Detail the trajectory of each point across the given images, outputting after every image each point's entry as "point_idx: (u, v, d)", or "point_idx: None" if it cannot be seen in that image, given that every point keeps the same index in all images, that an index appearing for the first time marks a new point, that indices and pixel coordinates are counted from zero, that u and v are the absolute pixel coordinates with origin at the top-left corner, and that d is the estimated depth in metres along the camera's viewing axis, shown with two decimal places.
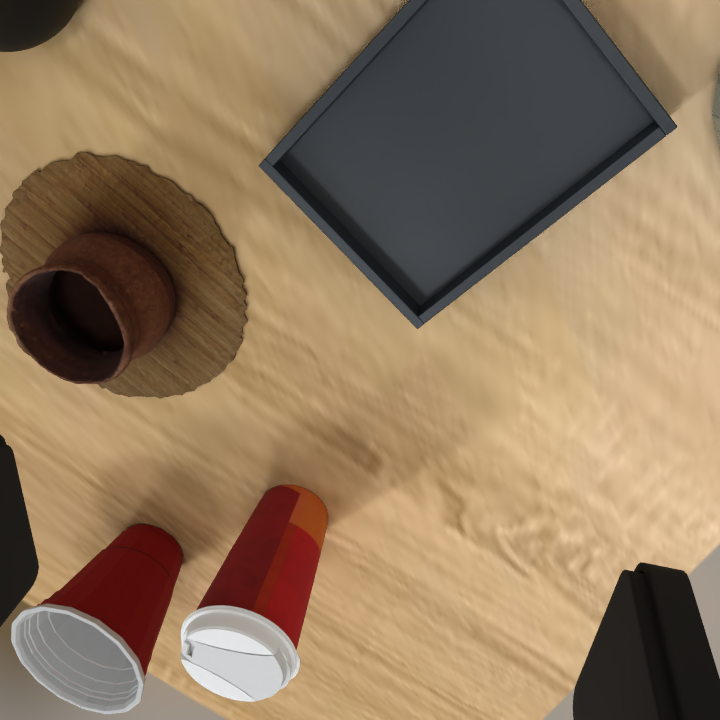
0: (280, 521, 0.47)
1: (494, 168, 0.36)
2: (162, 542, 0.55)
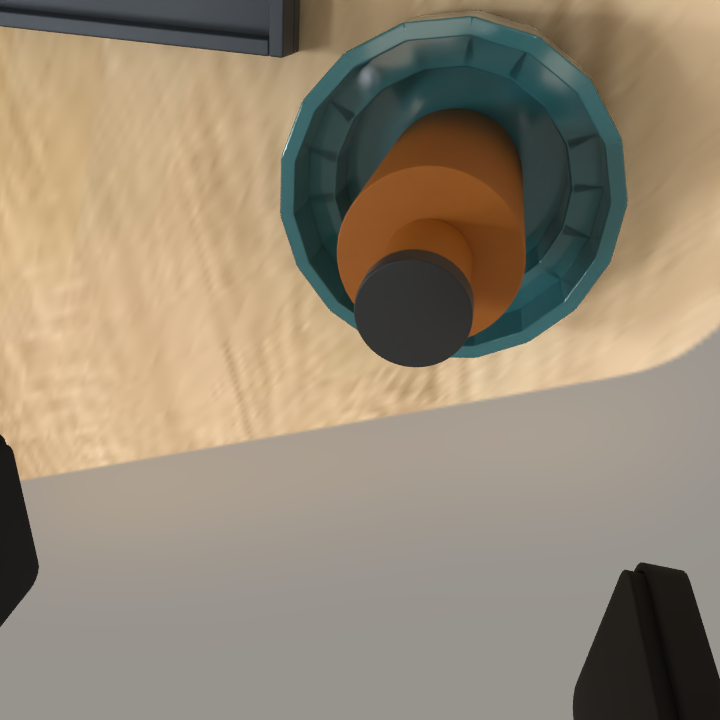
0: None
1: None
2: None
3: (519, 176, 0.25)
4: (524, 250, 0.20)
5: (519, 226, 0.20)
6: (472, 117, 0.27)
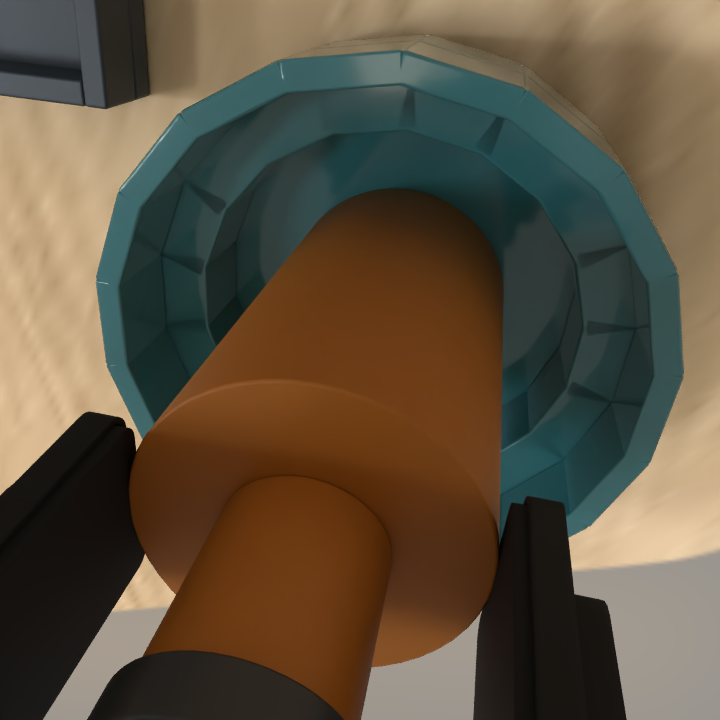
0: None
1: None
2: None
3: (495, 320, 0.15)
4: (496, 543, 0.10)
5: (484, 501, 0.09)
6: (419, 209, 0.16)
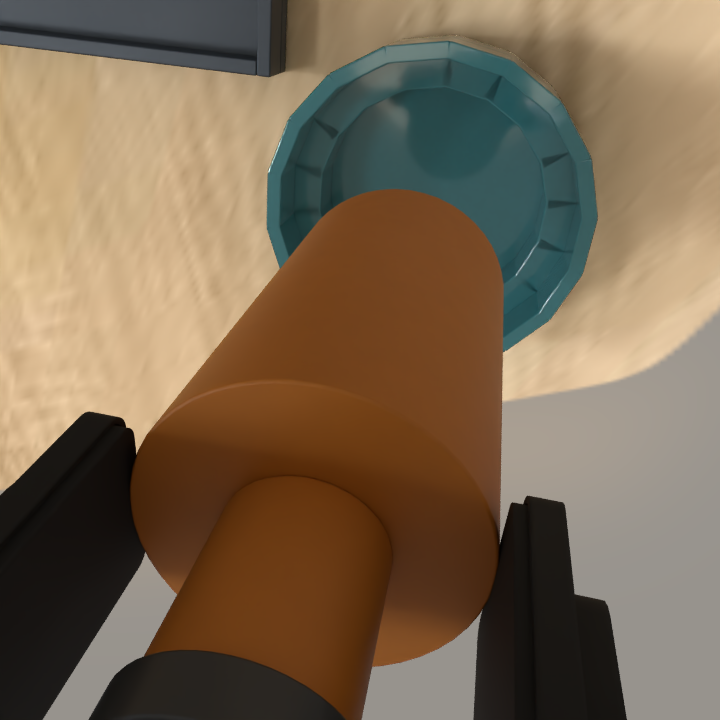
0: None
1: None
2: None
3: (495, 320, 0.15)
4: (496, 543, 0.10)
5: (485, 501, 0.09)
6: (420, 210, 0.16)
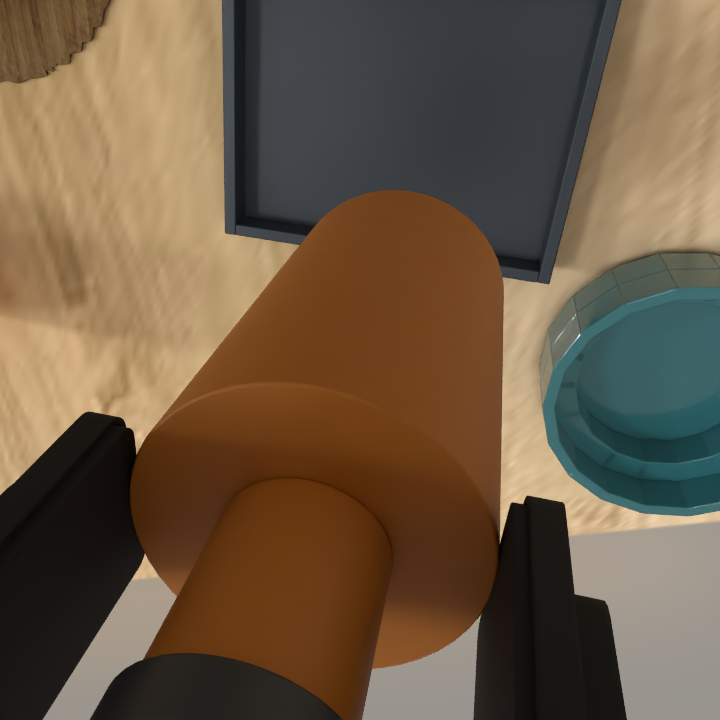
0: None
1: (408, 174, 0.34)
2: None
3: (495, 321, 0.15)
4: (496, 545, 0.10)
5: (485, 503, 0.09)
6: (420, 211, 0.16)
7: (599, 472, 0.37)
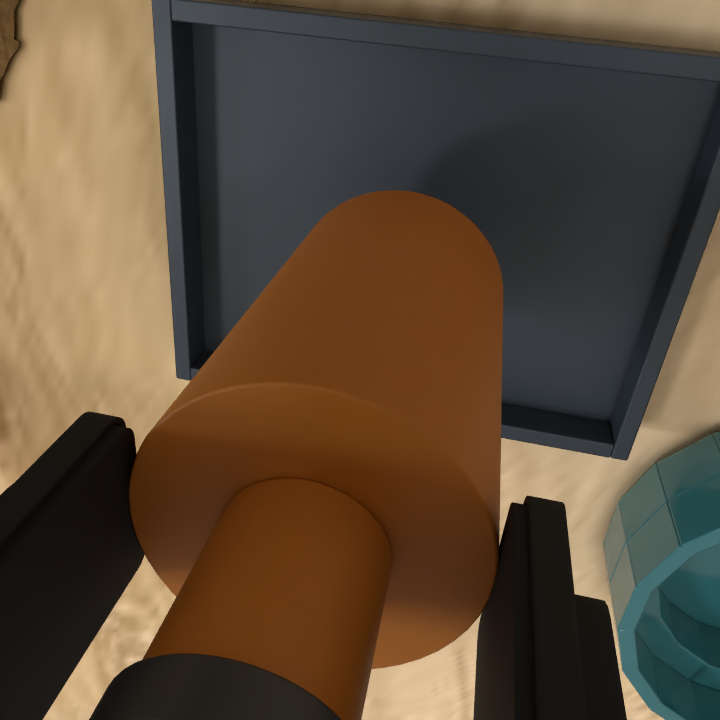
0: None
1: None
2: None
3: (495, 321, 0.15)
4: (495, 545, 0.10)
5: (484, 503, 0.09)
6: (419, 211, 0.16)
7: (687, 693, 0.27)
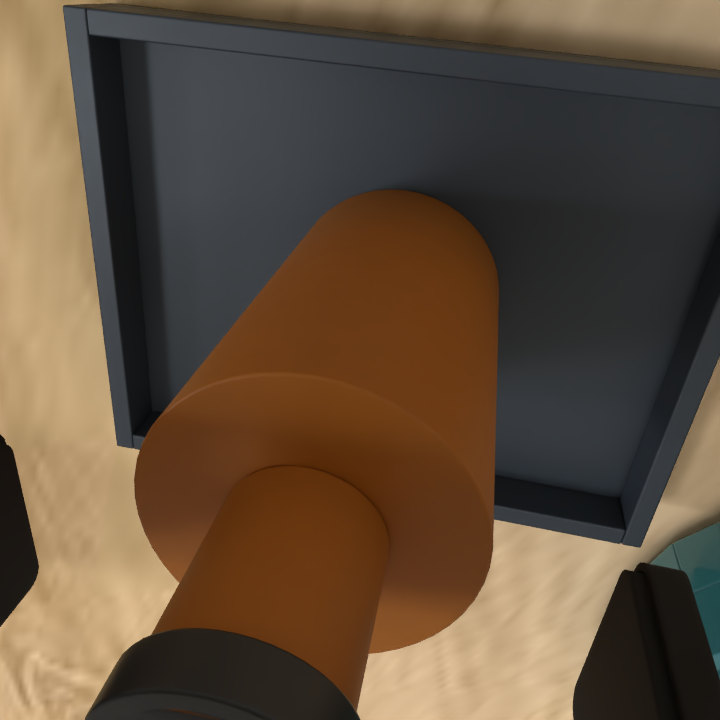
0: None
1: None
2: None
3: (490, 317, 0.15)
4: (489, 530, 0.10)
5: (478, 490, 0.10)
6: (416, 210, 0.17)
7: None
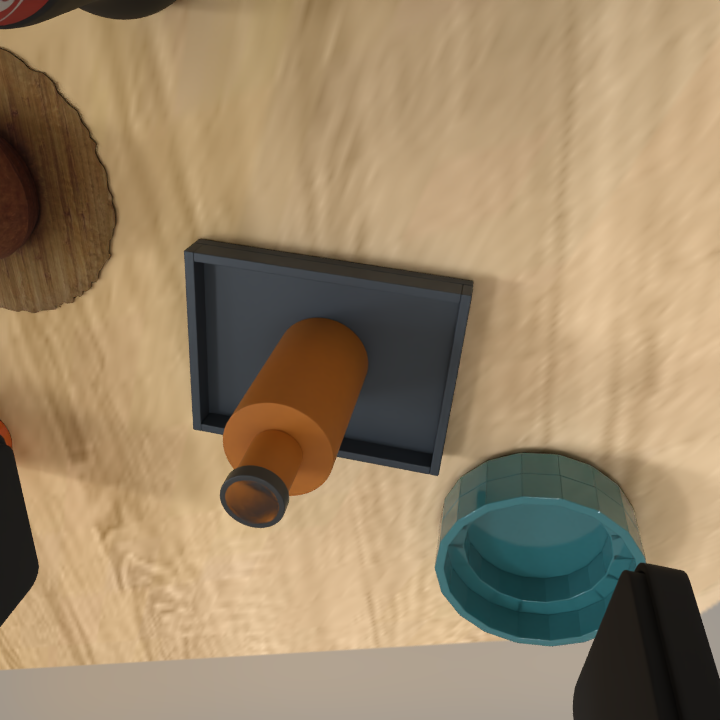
0: None
1: None
2: None
3: (352, 377, 0.39)
4: (331, 449, 0.34)
5: (326, 436, 0.34)
6: (327, 330, 0.40)
7: (485, 608, 0.47)
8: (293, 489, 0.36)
